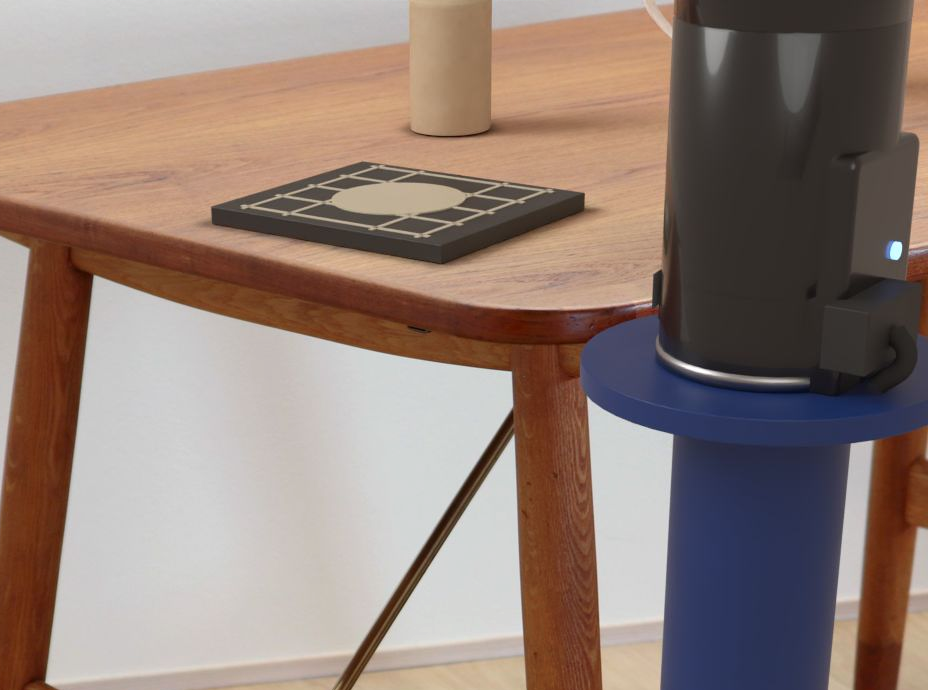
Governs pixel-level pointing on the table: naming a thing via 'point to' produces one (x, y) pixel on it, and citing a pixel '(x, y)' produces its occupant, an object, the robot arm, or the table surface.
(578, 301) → the table surface
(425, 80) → the candle
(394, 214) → the board
